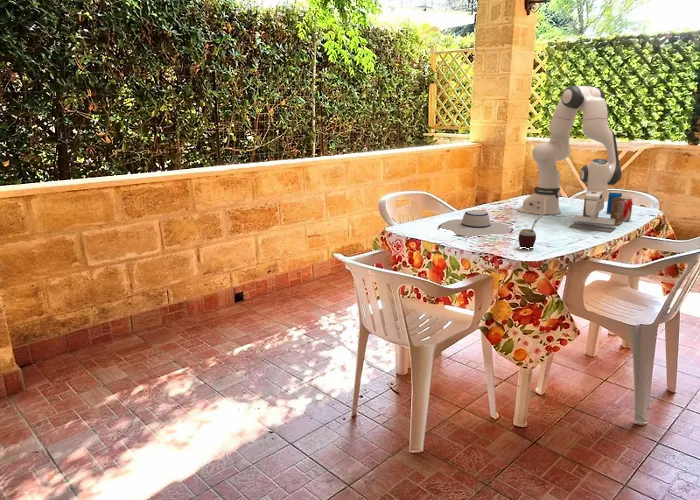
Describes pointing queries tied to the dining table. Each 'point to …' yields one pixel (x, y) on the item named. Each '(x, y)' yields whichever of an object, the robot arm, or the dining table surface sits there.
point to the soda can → (625, 209)
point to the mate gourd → (527, 237)
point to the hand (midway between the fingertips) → (593, 221)
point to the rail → (597, 219)
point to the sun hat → (475, 225)
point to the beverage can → (611, 197)
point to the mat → (592, 227)
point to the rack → (614, 211)
